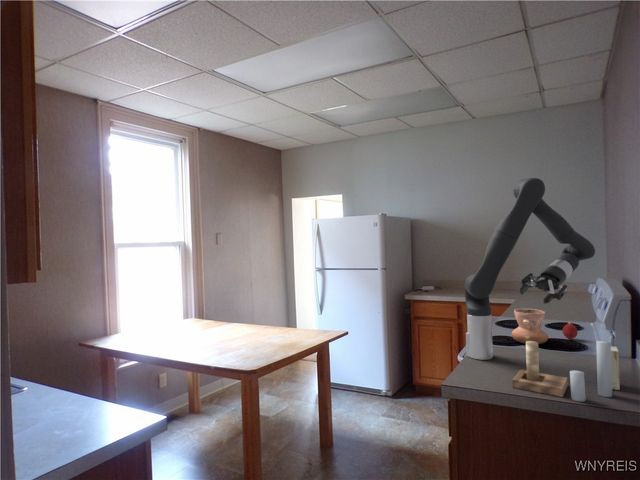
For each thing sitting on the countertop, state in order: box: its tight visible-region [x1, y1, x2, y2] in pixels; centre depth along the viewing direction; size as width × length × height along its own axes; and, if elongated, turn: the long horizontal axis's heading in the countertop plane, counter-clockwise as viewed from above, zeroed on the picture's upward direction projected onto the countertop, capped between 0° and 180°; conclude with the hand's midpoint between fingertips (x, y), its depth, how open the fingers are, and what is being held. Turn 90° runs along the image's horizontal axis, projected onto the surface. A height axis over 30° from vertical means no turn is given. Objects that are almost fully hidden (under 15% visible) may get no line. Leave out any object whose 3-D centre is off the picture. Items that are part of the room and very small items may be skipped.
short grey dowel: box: [569, 369, 587, 402], centre depth 120 cm, size 4×4×8 cm
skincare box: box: [611, 345, 621, 391], centre depth 128 cm, size 6×4×12 cm
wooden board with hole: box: [512, 369, 569, 398], centre depth 130 cm, size 14×11×2 cm
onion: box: [562, 321, 579, 341], centre depth 180 cm, size 6×6×8 cm
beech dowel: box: [525, 341, 540, 382], centre depth 131 cm, size 4×4×14 cm
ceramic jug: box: [511, 308, 549, 345], centre depth 180 cm, size 18×14×14 cm
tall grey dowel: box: [595, 340, 613, 398], centre depth 122 cm, size 4×4×16 cm
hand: (532, 297), depth 145 cm, fingers open, 8 cm apart
